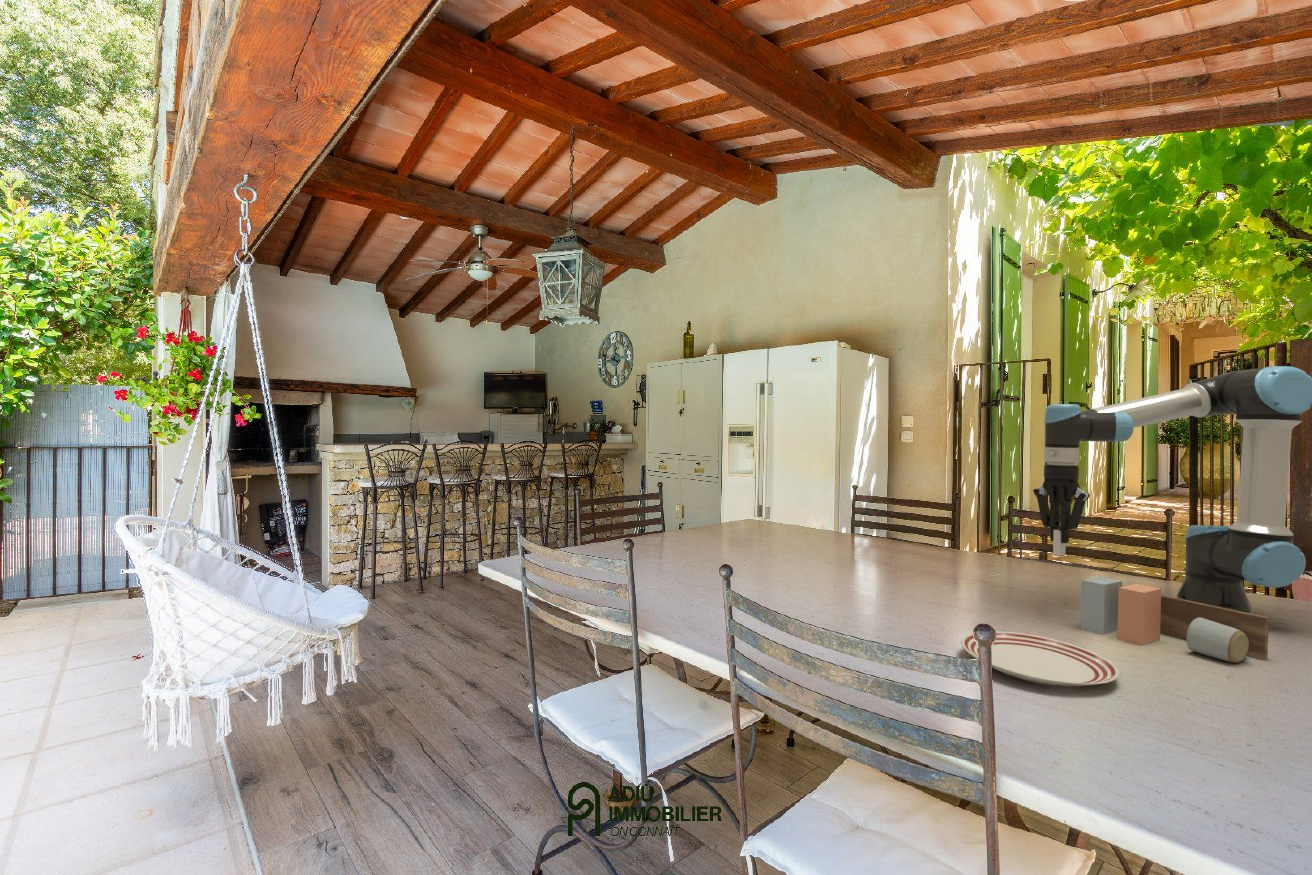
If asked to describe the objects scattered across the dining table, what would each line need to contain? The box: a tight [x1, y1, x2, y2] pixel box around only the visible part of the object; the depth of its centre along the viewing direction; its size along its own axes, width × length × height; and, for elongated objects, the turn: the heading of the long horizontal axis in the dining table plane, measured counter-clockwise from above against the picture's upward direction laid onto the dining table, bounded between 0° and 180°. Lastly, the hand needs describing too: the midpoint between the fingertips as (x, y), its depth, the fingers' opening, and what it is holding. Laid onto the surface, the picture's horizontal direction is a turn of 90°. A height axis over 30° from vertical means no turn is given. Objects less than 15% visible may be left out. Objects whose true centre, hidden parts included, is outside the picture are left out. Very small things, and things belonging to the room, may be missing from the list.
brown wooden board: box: [1160, 594, 1270, 661], centre depth 145 cm, size 1×32×9 cm, turn 28°
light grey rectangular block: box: [1080, 575, 1123, 636], centre depth 150 cm, size 8×5×12 cm, turn 118°
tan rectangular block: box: [1117, 583, 1162, 646], centre depth 143 cm, size 8×5×12 cm, turn 118°
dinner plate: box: [960, 630, 1120, 687], centre depth 126 cm, size 27×27×3 cm
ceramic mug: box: [1186, 618, 1249, 664], centre depth 133 cm, size 11×8×8 cm
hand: (1059, 554), depth 159 cm, fingers closed
